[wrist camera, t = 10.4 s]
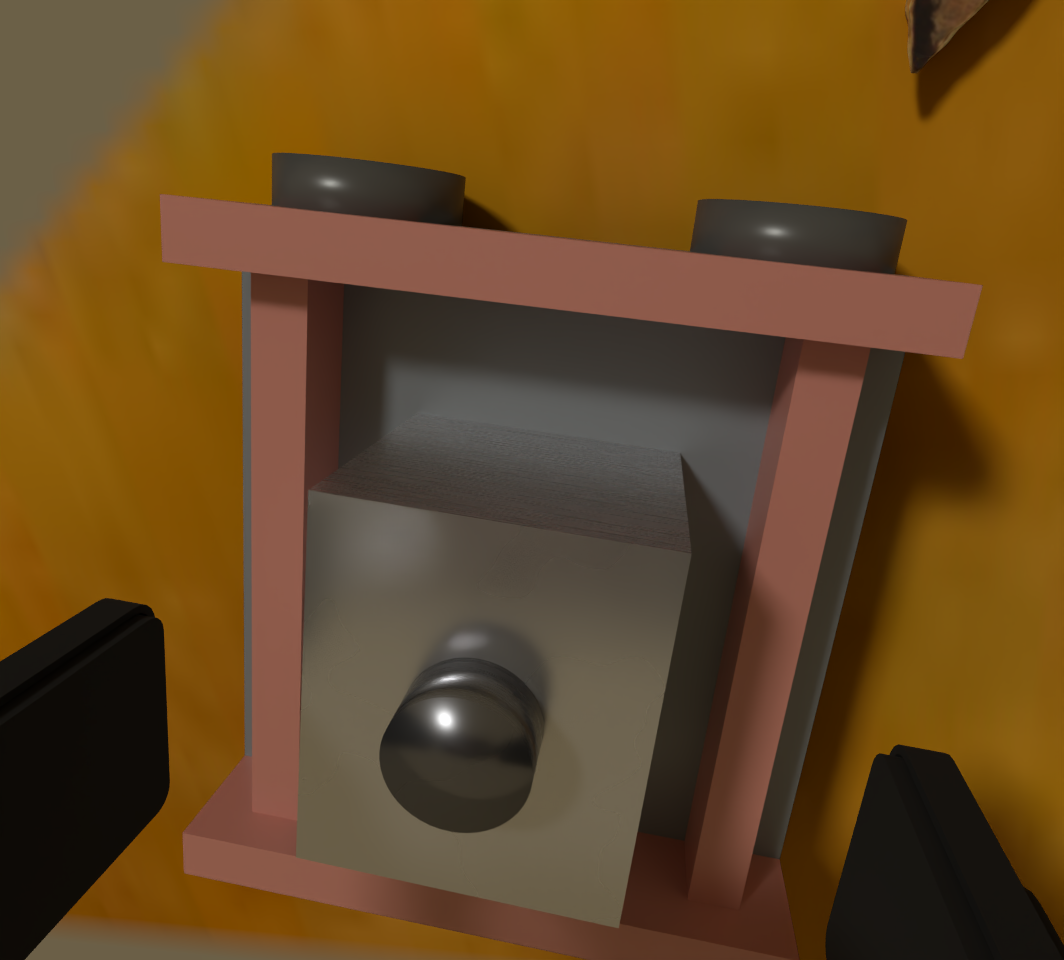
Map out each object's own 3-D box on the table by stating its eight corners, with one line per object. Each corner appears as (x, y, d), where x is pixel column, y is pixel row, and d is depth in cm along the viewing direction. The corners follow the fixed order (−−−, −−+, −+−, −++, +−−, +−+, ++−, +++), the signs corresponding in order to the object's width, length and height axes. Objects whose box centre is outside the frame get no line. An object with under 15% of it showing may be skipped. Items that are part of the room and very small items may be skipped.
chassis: (886, 225, 16) (1001, 215, 10) (747, 832, 20) (778, 1037, 15) (311, 165, 17) (157, 130, 12) (299, 746, 21) (185, 907, 16)
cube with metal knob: (680, 452, 15) (695, 587, 9) (629, 730, 16) (615, 988, 11) (417, 412, 15) (272, 515, 9) (397, 685, 17) (264, 909, 11)
